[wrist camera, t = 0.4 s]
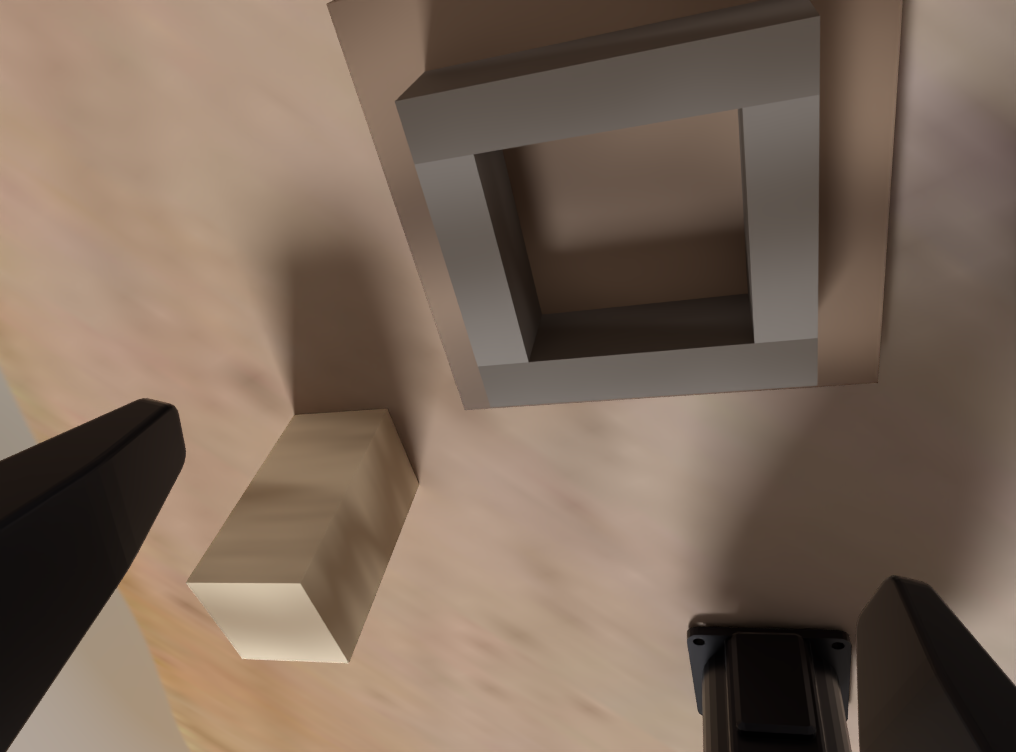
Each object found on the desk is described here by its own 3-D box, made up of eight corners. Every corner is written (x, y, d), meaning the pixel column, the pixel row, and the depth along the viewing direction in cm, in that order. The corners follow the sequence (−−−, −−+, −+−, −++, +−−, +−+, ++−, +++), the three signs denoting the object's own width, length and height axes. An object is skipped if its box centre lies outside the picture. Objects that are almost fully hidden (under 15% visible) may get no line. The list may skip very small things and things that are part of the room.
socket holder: (871, 362, 22) (897, 439, 20) (471, 392, 26) (446, 459, 23) (900, -146, 15) (947, -136, 12) (341, -5, 19) (283, 26, 16)
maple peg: (419, 484, 30) (348, 663, 23) (331, 487, 31) (242, 659, 25) (387, 408, 27) (300, 583, 21) (294, 414, 29) (185, 582, 22)
